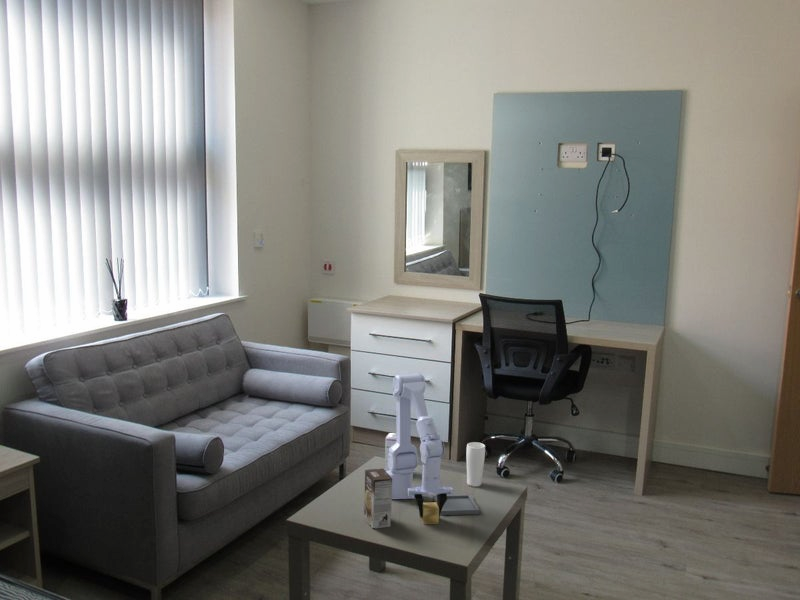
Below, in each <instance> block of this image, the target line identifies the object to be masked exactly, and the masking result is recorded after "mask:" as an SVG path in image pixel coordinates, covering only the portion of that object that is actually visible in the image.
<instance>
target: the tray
mask: <svg viewBox="0 0 800 600" xmlns="http://www.w3.org/2000/svg"><path fill="white" fill-rule="evenodd" d="M433 501H434V502H436V503H437V495H435V496H433ZM480 511H481V510H480V508H479V506H478V505H477V503H476V501H475V500H474V498H473V496H472V495H471V493H470V494H469V493H463V494H462V493H461V494H453V495H449V494H447V501H446V502H445V504H444V506H443V508H442V510H441V514H440V516H456V515H457V516H460V515H479V514H480Z"/></svg>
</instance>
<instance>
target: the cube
mask: <svg viewBox="0 0 800 600" xmlns="http://www.w3.org/2000/svg"><path fill="white" fill-rule="evenodd" d="M420 519H421V522H422V524H423V525H428V524H429V525H432V524H433V525H435V524H436V525H437V524H439V521H440V520H439V519H440V517H439V507H438V505H437V503H436V502H435V501H434V502H432V501H431V502H423V518H420Z"/></svg>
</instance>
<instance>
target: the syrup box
mask: <svg viewBox="0 0 800 600" xmlns="http://www.w3.org/2000/svg"><path fill="white" fill-rule="evenodd" d="M396 442H397V432H389V433H388V434H387V435H386V436H385V442H384V443H385V445H384V446H385V448H384V449H385V453H384V457H385V458H384V465H385V466H384V470H385V471H389V470H390V469H389V467H388V463H387V458H388V454H389V448H390V447H392V446H393V445H394V444H395V443H396Z"/></svg>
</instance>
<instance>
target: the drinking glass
mask: <svg viewBox="0 0 800 600" xmlns="http://www.w3.org/2000/svg"><path fill="white" fill-rule="evenodd" d="M465 450H466V452H465V454H466V456H465V459H466V484H467V485H468V486H469V487H473V488H474V487H476V488H477V487H480V486H481V485H482V484H483V483H482V481H483V472H484V465H485V457H486V456H485V455H486V445H485V444H484V443H481V442H477V441H476V442H475V441H473V442H469V443H468V442H467V444H466V449H465Z"/></svg>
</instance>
